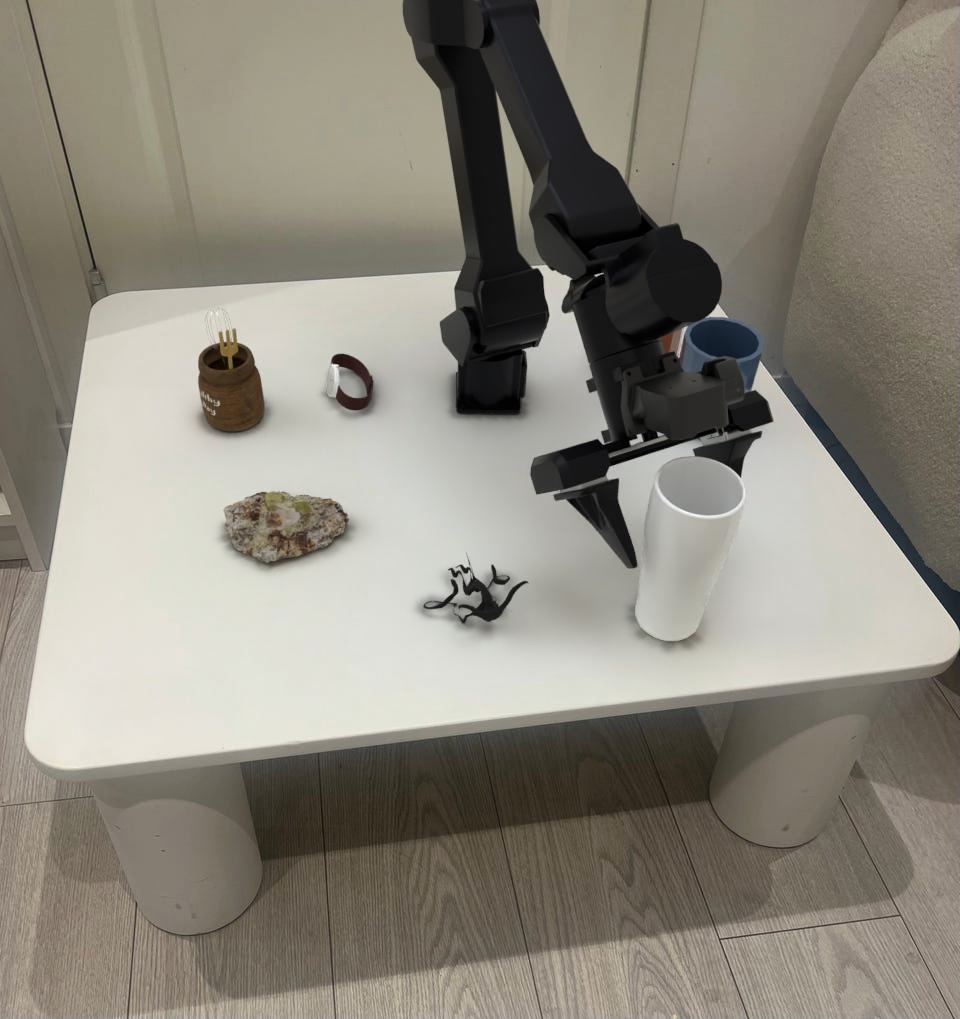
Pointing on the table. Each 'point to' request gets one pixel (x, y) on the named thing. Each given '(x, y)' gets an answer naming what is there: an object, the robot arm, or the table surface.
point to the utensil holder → (229, 384)
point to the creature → (487, 606)
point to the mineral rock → (283, 524)
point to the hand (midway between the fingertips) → (683, 549)
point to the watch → (333, 381)
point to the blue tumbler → (722, 346)
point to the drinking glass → (686, 543)
